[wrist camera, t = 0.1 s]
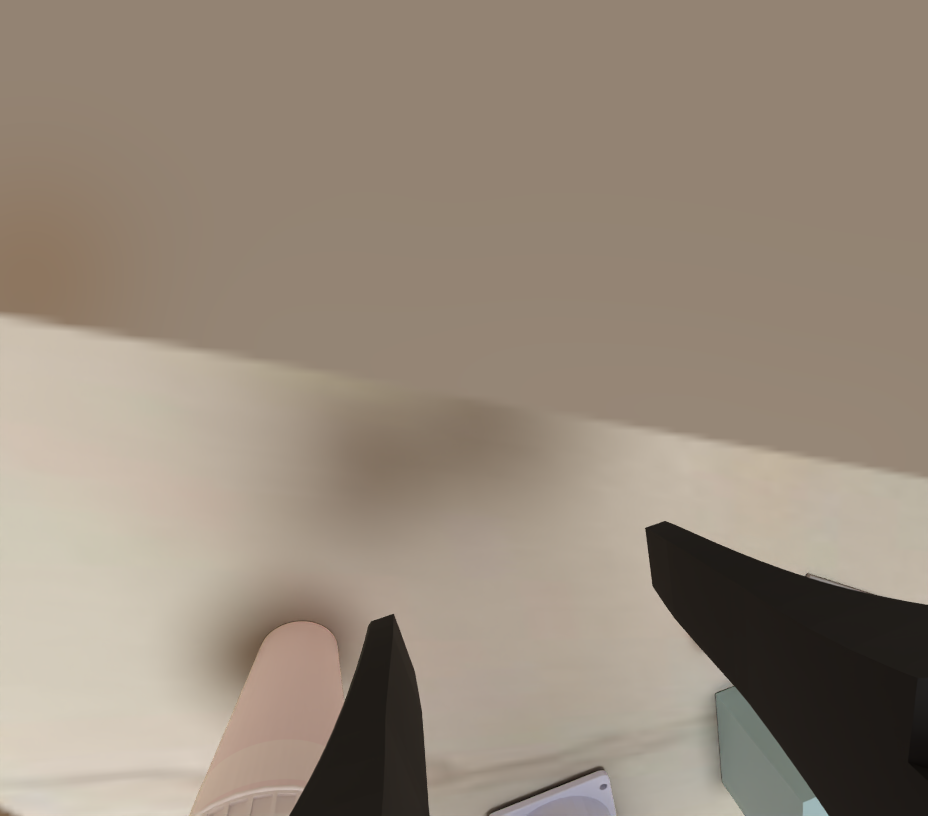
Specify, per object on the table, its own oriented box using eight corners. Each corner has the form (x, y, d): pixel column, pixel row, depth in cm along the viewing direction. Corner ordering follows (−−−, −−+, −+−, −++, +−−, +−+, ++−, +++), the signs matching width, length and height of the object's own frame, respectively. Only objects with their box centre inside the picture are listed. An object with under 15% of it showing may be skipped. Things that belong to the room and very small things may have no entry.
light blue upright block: (796, 751, 35) (889, 859, 29) (722, 782, 34) (801, 899, 28) (796, 662, 32) (901, 760, 26) (715, 693, 31) (802, 802, 25)
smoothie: (363, 696, 26) (367, 1158, 13) (231, 709, 24) (83, 1244, 11) (367, 593, 24) (377, 1009, 11) (225, 601, 22) (38, 1090, 9)
